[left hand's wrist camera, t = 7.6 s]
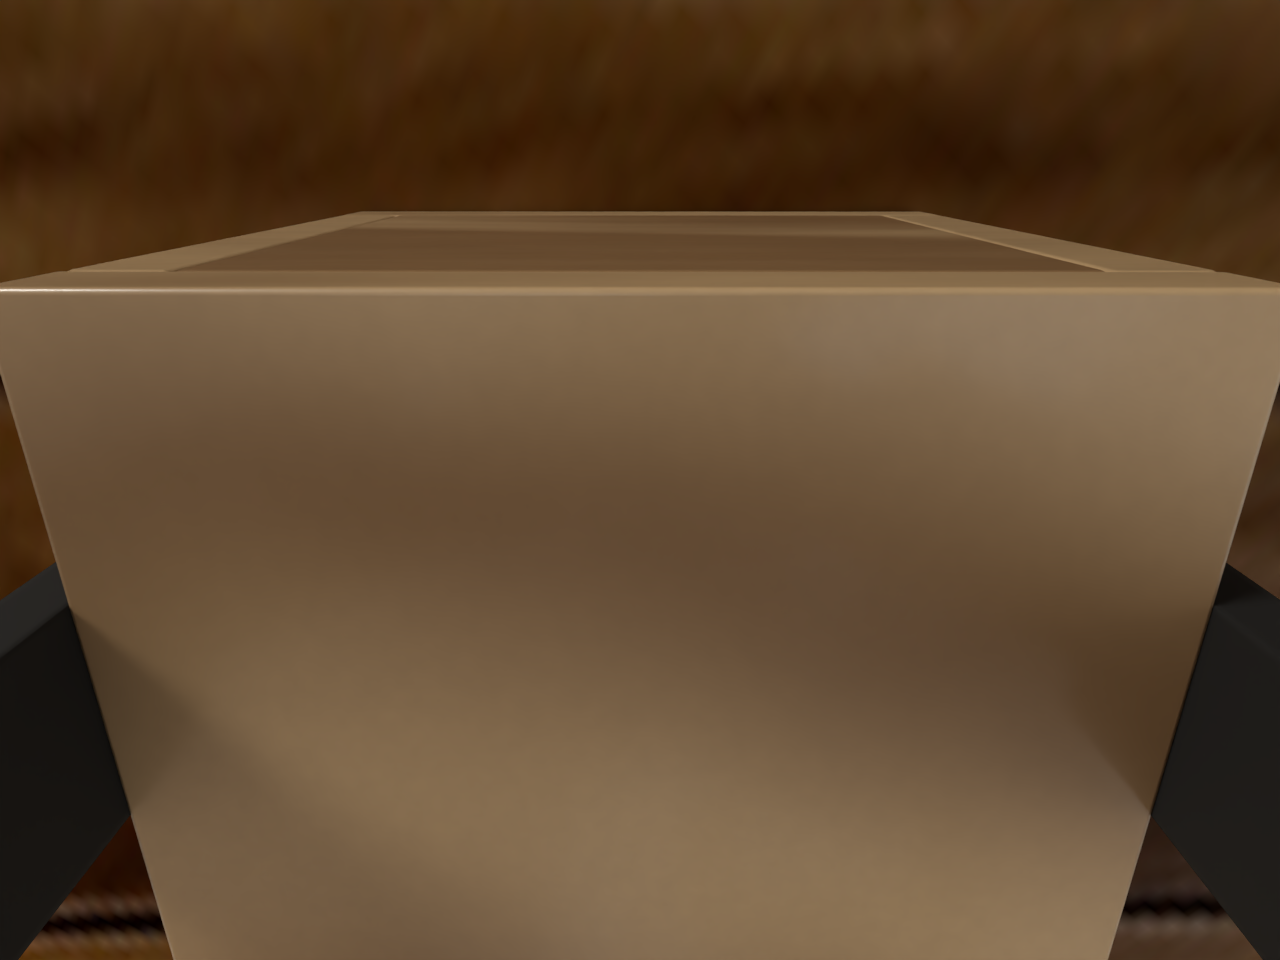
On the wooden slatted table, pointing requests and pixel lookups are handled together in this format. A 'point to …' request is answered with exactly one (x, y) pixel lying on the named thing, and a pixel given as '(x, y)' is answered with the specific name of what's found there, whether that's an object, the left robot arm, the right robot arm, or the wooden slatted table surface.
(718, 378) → the cabinet
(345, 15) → the wooden slatted table surface
